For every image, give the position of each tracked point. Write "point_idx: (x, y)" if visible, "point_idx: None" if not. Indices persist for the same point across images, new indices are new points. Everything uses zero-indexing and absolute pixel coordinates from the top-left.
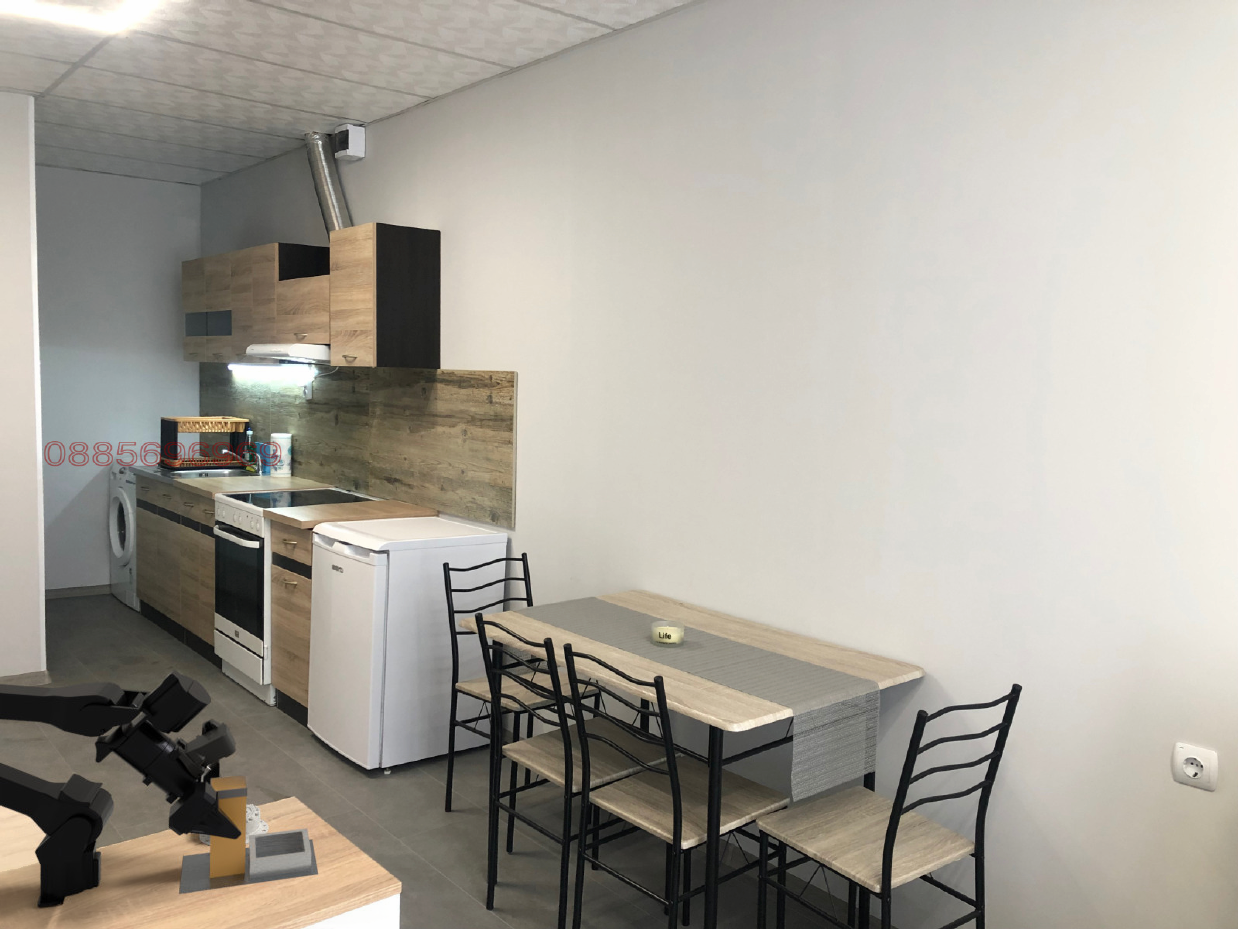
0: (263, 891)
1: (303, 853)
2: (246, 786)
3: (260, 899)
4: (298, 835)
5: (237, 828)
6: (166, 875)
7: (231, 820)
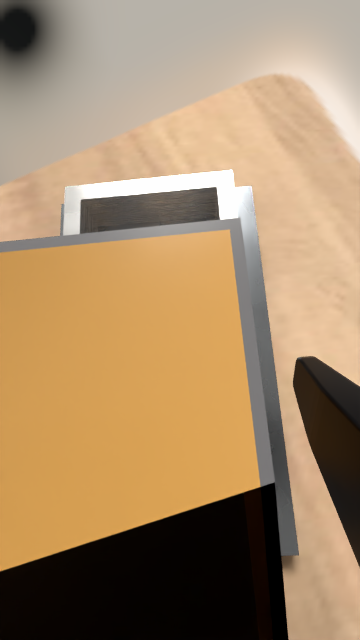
0: (275, 315)
1: (229, 189)
2: (182, 234)
3: (316, 320)
4: (84, 215)
5: (331, 375)
6: None
7: (355, 418)
